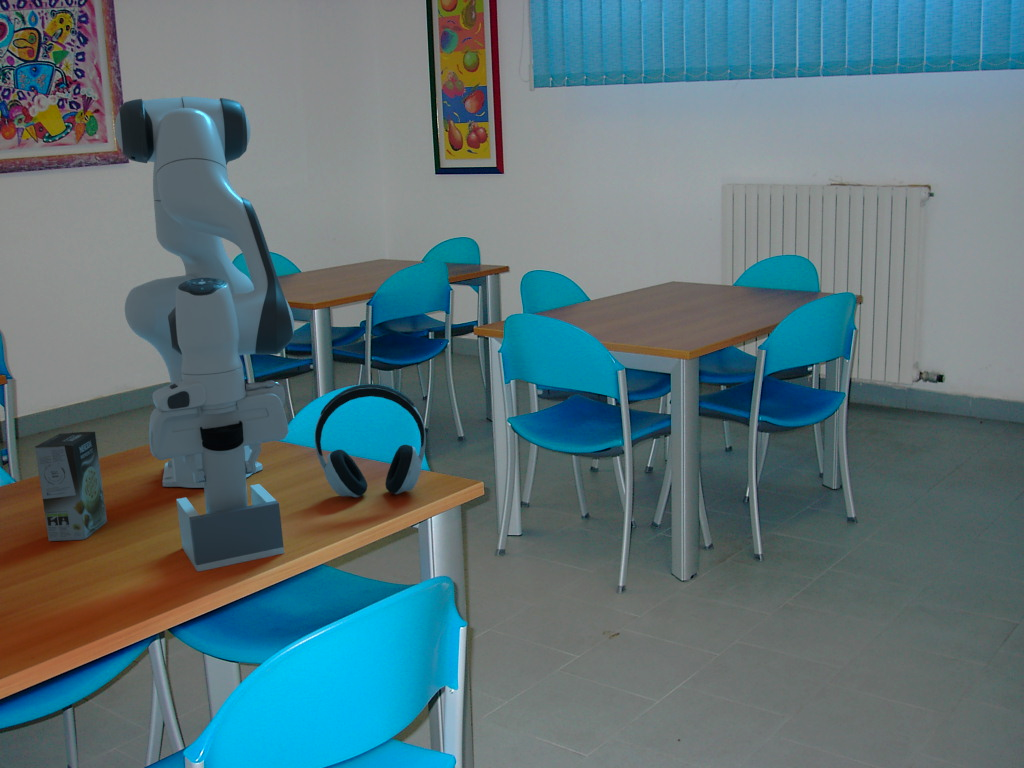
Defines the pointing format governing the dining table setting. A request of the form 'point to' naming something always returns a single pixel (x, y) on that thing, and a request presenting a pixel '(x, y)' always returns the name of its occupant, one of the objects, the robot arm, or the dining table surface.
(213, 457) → the travel mug
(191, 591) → the dining table surface
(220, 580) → the dining table surface
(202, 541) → the u-shaped bracket
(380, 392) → the headphones
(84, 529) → the coffee box
